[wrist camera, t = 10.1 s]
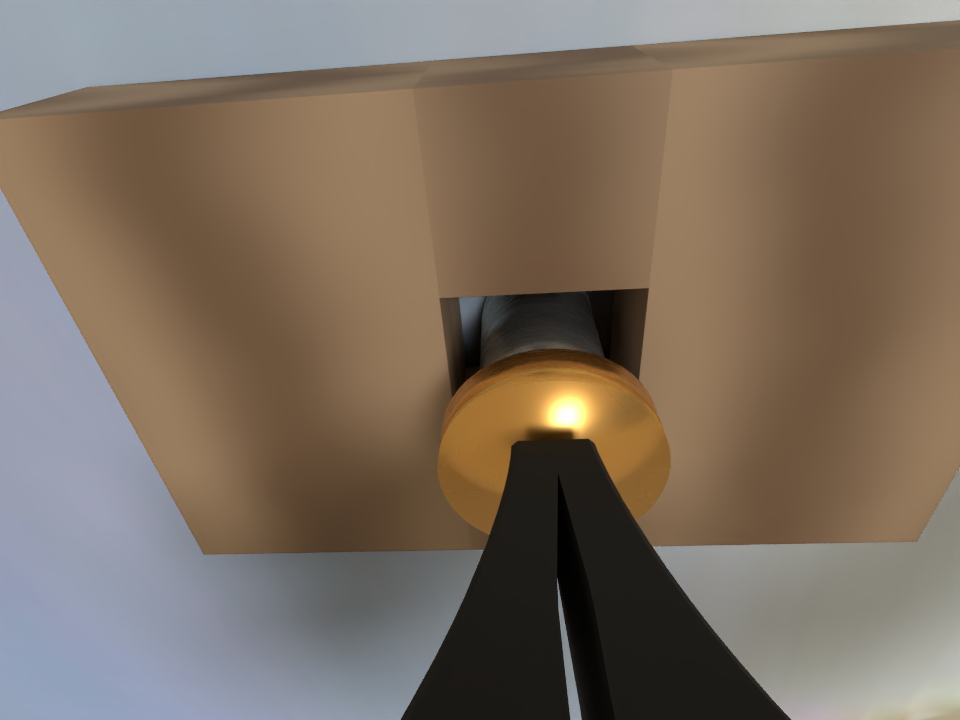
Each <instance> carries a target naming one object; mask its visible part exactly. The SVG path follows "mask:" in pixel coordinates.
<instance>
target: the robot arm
mask: <svg viewBox="0 0 960 720" xmlns="http://www.w3.org/2000/svg"><path fill="white" fill-rule="evenodd" d="M557 578H558V584H559V590H560V596H561V601H562V607H563V613H564V619H565V624H566V630H567V636H568V641H569V647H570V653H571V658H572V664H573V670H574V675H575V681H576V687H577V692H578V698H579V704H580V710H581V717H582V720H791V719H790V718H789V717H788V716H787V715H786V714H785V713H784V712H783V710H782V709H781V708H780V707H779V706H778V705H777V704H776V703H775V702H774V701H773V700H772V699H771V698H770V696H769V695H768V694H767V693H766V692H765V691H764V690H763V688H762V687H761V686H760V685H759V684H758V683H757V681H756V680H755V679H754V678H753V677H752V676H751V675H750V673H749V672H748V671H747V670H746V669H745V668H744V666H743V665H742V664H741V663H740V662H739V661H738V660H737V658H736V657H735V656H734V655H733V653H732V652H731V651H730V650H729V649H728V647H727V646H726V645H725V644H724V642H723V641H722V640H721V639H720V638H719V636H718V635H717V634H716V633H715V632H714V630H713V629H712V628H711V627H710V625H709V624H708V623H707V621H706V620H705V619H704V618H703V616H702V615H701V614H700V612H699V611H698V610H697V608H696V607H695V606H694V605H693V603H692V602H691V601H690V599H689V598H688V597H687V595H686V594H685V592H684V591H683V590H682V588H681V587H680V586H679V584H678V583H677V581H676V580H675V579H674V577H673V576H672V574H671V573H670V572H669V570H668V569H667V568H666V566H665V565H664V563H663V562H662V560H661V559H660V557H659V556H658V554H657V553H656V551H655V550H654V548H653V547H652V545H651V544H650V542H649V541H648V539H647V538H646V536H645V534H644V533H643V531H642V530H641V528H640V527H639V525H638V523H637V522H636V520H635V519H634V517H633V516H632V514H631V512H630V511H629V509H628V507H627V506H626V504H625V502H624V501H623V499H622V497H621V495H620V493H619V492H618V490H617V488H616V486H615V485H614V483H613V481H612V479H611V477H610V475H609V473H608V471H607V469H606V467H605V465H604V463H603V461H602V459H601V457H600V455H599V453H598V450H597V448H596V445H595V443H593V442H592V441H591V440H590V439H562V440H531V441H517V442H516V443H514V444H513V445H512V446H511V456H510V463H509V469H508V474H507V479H506V483H505V487H504V490H503V494H502V498H501V501H500V505H499V508H498V511H497V514H496V517H495V520H494V523H493V526H492V529H491V532H490V535H489V538H488V541H487V543H486V546H485V549H484V551H483V554H482V556H481V559H480V561H479V564H478V566H477V568H476V571H475V573H474V576H473V578H472V581H471V583H470V585H469V588H468V590H467V593H466V595H465V597H464V599H463V602H462V604H461V606H460V608H459V610H458V612H457V615H456V617H455V619H454V621H453V623H452V625H451V627H450V629H449V631H448V633H447V635H446V637H445V639H444V641H443V643H442V645H441V647H440V649H439V651H438V653H437V655H436V657H435V659H434V661H433V663H432V664H431V666H430V668H429V670H428V672H427V674H426V675H425V677H424V679H423V681H422V683H421V684H420V686H419V688H418V690H417V692H416V694H415V695H414V697H413V699H412V701H411V703H410V704H409V706H408V708H407V710H406V711H405V713H404V715H403V716H402V718H401V720H570V713H569V704H568V695H567V686H566V677H565V668H564V659H563V649H562V640H561V630H560V621H559V611H558V591H557Z"/></svg>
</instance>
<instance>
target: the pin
mask: <svg viewBox="0 0 960 720" xmlns="http://www.w3.org/2000/svg"><path fill="white" fill-rule="evenodd" d="M562 439H590V440H591V441H592V442H593V443H595V445H596V448H597V450H598V453H599V455H600V457H601V459H602V461H603V463H604V465H605V467H606V469H607V471H608V473H609V475H610V477H611V479H612V481H613V483H614V485H615V486H616V488H617V490H618V492H619V493H620V495H621V497H622V499H623V501H624V502H625V504H626V506H627V507H628V509H629V511H630V512H631V514H632V516H633V517H634V519H635V520H638V519H639V518H640V517H641V516H642V515H644V514H645V513H646V512H647V511H648V510H649V509H650V508H651V507H652V506H653V504H654V503H655V502H656V501H657V499H658V498H659V496H660V495H661V493H662V492H663V490H664V488H665V485H666V483H667V481H668V477H669V473H670V467H671V455H670V447H669V444H668V441H667V438H666V435H665V432H664V429H663V426H662V424H661V421H660V418H659V415H658V412H657V410H656V407H655V404H654V402H653V400H652V398H651V396H650V394H649V392H648V391H647V389H646V388H645V387H644V385H643V384H642V383H641V382H640V381H639V380H638V379H637V378H636V377H635V376H634V375H633V374H632V373H630V372H629V371H628V370H626V369H625V368H624V367H622V366H620V365H619V364H617V363H615V362H613V361H611V360H609V359H606V358H605V357H604V353H603V350H602V346H601V342H600V339H599V335H598V331H597V327H596V324H595V320H594V316H593V313H592V309H591V305H590V302H589V299H588V296H587V294H586V292H585V291H578V292H557V293H536V294H516V295H495V296H487V297H486V299H485V302H484V305H483V312H482V330H481V349H480V368H479V371H478V372H477V373H475V374H474V375H473V376H471V377H470V378H469V379H468V380H467V381H466V382H465V383H464V384H463V385H462V386H461V387H460V388H459V389H458V391H457V392H456V393H455V395H454V396H453V398H452V399H451V401H450V403H449V405H448V407H447V409H446V412H445V416H444V419H443V426H442V433H441V441H440V449H439V457H438V465H437V467H438V478H439V482H440V486H441V489H442V491H443V493H444V496H445V498H446V499H447V501H448V502H449V504H450V505H451V507H452V508H453V509H454V510H455V511H456V512H457V513H458V515H460V516H461V517H462V518H463V519H464V520H465V521H467V522H468V523H469V524H471V525H472V526H474V527H475V528H477V529H479V530H480V531H482V532H484V533H486V534H488V535H490V532H491V529H492V526H493V523H494V520H495V517H496V514H497V511H498V508H499V505H500V501H501V498H502V494H503V490H504V487H505V483H506V479H507V474H508V469H509V463H510V456H511V446H512V445H513V444H514V443H516V442H517V441H531V440H562Z"/></svg>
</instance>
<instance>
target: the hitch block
mask: <svg viewBox="0 0 960 720" xmlns="http://www.w3.org/2000/svg"><path fill="white" fill-rule="evenodd" d="M0 188H1V190H2V192H3V194H4V195H5V197H6V199H7V201H8V203H9V204H10V206H11V208H12V210H13V212H14V213H15V215H16V217H17V219H18V221H19V222H20V224H21V226H22V228H23V230H24V231H25V233H26V235H27V237H28V239H29V240H30V242H31V244H32V246H33V248H34V249H35V251H36V253H37V255H38V257H39V258H40V260H41V262H42V264H43V266H44V267H45V269H46V271H47V273H48V275H49V276H50V278H51V280H52V282H53V284H54V285H55V287H56V289H57V291H58V293H59V294H60V296H61V298H62V300H63V302H64V303H65V305H66V307H67V309H68V311H69V312H70V314H71V316H72V318H73V320H74V321H75V323H76V325H77V327H78V329H79V330H80V332H81V334H82V336H83V338H84V339H85V341H86V343H87V345H88V347H89V348H90V350H91V352H92V354H93V356H94V357H95V359H96V361H97V363H98V365H99V366H100V368H101V370H102V372H103V374H104V375H105V377H106V379H107V381H108V383H109V384H110V386H111V388H112V390H113V392H114V393H115V395H116V397H117V399H118V401H119V402H120V404H121V406H122V408H123V410H124V411H125V413H126V415H127V417H128V419H129V420H130V422H131V424H132V426H133V428H134V430H135V431H136V433H137V435H138V437H139V439H140V440H141V442H142V444H143V446H144V448H145V449H146V451H147V453H148V455H149V457H150V458H151V460H152V462H153V464H154V466H155V467H156V469H157V471H158V473H159V475H160V476H161V478H162V480H163V482H164V484H165V485H166V487H167V489H168V491H169V493H170V494H171V496H172V498H173V500H174V502H175V503H176V505H177V507H178V509H179V511H180V512H181V514H182V516H183V518H184V520H185V521H186V523H187V525H188V527H189V529H190V530H191V532H192V534H193V536H194V538H195V539H196V541H197V543H198V545H199V547H200V548H201V550H202V552H203V554H254V553H310V552H365V551H420V550H475V549H485V546H486V543H487V541H488V538H489V535H488V534H486V533H484V532H482V531H480V530H479V529H477V528H475V527H474V526H472V525H471V524H469V523H468V522H467V521H465V520H464V519H463V518H462V517H461V516H460V515H458V513H457V512H456V511H455V510H454V509H453V508H452V507H451V505H450V504H449V502H448V501H447V499H446V498H445V496H444V493H443V491H442V489H441V486H440V482H439V478H438V467H437V465H438V457H439V449H440V441H441V433H442V426H443V419H444V416H445V412H446V409H447V407H448V405H449V403H450V401H451V399H452V398H453V396H454V395H455V393H456V392H457V391H458V389H459V388H460V387H461V386H462V385H463V384H464V383H465V382H466V381H467V380H468V379H469V378H470V377H471V376H473V375H474V374H475V373H477V372H478V371H479V368H480V366H476V367H466V362H465V353H464V343H463V334H462V324H461V315H460V305H459V297H474V296H495V295H516V294H536V293H557V292H578V291H598V290H614V301H613V315H612V329H611V343H610V358H609V360H611V361H613V362H615V363H617V364H619V365H620V366H622V367H624V368H625V369H626V370H628V371H629V372H630V373H632V374H633V375H634V376H635V377H636V378H637V379H638V380H639V381H640V382H641V383H642V384H643V385H644V387H645V388H646V389H647V391H648V392H649V394H650V396H651V398H652V400H653V402H654V404H655V407H656V410H657V412H658V415H659V418H660V421H661V424H662V426H663V429H664V432H665V435H666V438H667V441H668V444H669V447H670V455H671V467H670V473H669V477H668V481H667V483H666V485H665V488H664V490H663V492H662V493H661V495H660V496H659V498H658V499H657V501H656V502H655V503H654V504H653V506H652V507H651V508H650V509H649V510H648V511H647V512H646V513H645V514H644V515H642V516H641V517H640V518H639V519H638V520H636V522H637V523H638V525H639V527H640V528H641V530H642V531H643V533H644V534H645V536H646V538H647V539H648V541H649V542H650V544H651V545H652V546H695V545H751V544H806V543H861V542H916V541H917V540H918V539H919V537H920V535H921V533H922V532H923V530H924V528H925V526H926V525H927V523H928V521H929V519H930V518H931V516H932V514H933V512H934V511H935V509H936V507H937V505H938V504H939V502H940V500H941V498H942V497H943V495H944V493H945V491H946V490H947V488H948V486H949V484H950V483H951V481H952V479H953V477H954V476H955V474H956V472H957V470H958V469H959V467H960V20H957V21H944V22H931V23H918V24H905V25H892V26H879V27H866V28H853V29H840V30H827V31H814V32H801V33H788V34H775V35H762V36H749V37H736V38H723V39H710V40H697V41H684V42H671V43H658V44H645V45H632V46H619V47H606V48H593V49H580V50H567V51H554V52H541V53H528V54H515V55H502V56H489V57H476V58H463V59H450V60H437V61H424V62H411V63H398V64H385V65H372V66H359V67H346V68H333V69H320V70H307V71H294V72H281V73H268V74H255V75H242V76H229V77H216V78H203V79H190V80H177V81H164V82H151V83H138V84H125V85H112V86H99V87H86V88H82V89H79V90H75V91H72V92H68V93H65V94H61V95H57V96H54V97H50V98H47V99H43V100H40V101H36V102H33V103H29V104H25V105H22V106H18V107H15V108H11V109H8V110H4V111H1V112H0Z"/></svg>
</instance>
